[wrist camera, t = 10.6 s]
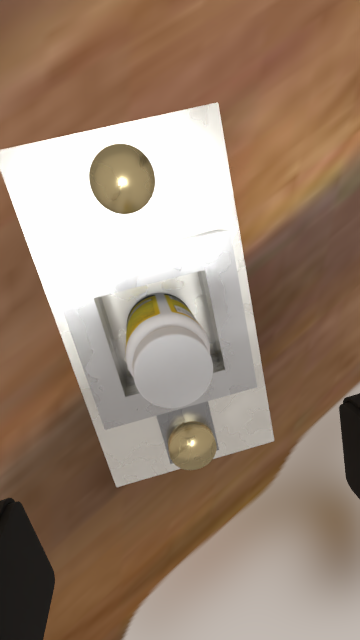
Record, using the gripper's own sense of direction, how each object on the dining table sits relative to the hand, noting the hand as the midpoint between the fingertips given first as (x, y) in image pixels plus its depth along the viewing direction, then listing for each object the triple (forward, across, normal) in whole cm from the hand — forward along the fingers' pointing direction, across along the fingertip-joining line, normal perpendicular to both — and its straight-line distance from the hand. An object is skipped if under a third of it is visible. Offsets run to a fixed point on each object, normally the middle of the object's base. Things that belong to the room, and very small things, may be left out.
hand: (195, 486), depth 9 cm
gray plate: (+16, 0, 0) cm, 16 cm away
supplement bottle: (+16, 0, 0) cm, 16 cm away
